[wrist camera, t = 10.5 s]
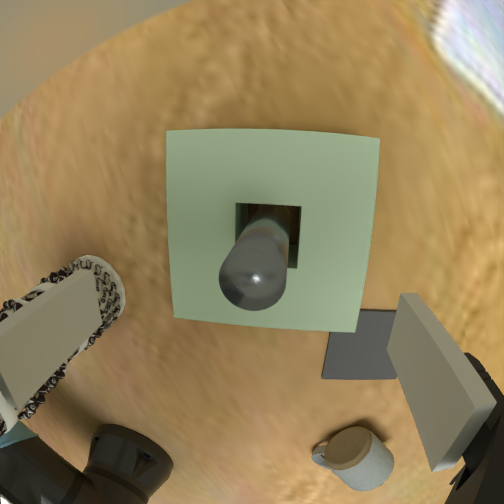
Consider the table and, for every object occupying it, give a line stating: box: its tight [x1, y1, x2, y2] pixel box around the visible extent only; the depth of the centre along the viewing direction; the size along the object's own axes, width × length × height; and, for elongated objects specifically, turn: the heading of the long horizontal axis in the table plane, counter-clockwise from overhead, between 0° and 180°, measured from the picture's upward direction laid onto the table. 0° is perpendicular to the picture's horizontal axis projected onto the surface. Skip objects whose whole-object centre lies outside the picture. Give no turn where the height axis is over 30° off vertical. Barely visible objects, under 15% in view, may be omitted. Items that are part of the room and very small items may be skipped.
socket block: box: [166, 129, 380, 332], centre depth 25 cm, size 15×15×6 cm
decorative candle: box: [0, 255, 126, 437], centre depth 21 cm, size 9×9×25 cm
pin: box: [219, 204, 290, 311], centre depth 21 cm, size 3×3×14 cm
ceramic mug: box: [311, 426, 394, 491], centre depth 33 cm, size 11×8×8 cm
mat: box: [322, 309, 397, 380], centre depth 30 cm, size 9×9×1 cm
